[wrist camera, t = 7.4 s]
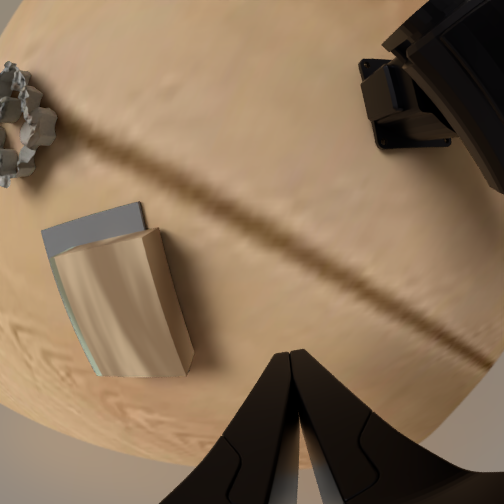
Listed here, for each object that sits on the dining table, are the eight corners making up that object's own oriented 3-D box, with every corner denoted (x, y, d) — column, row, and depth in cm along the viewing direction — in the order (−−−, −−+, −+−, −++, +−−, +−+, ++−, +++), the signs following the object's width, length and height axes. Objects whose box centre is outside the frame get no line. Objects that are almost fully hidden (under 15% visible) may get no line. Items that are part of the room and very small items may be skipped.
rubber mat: (139, 201, 18) (137, 201, 18) (189, 370, 22) (188, 372, 22) (43, 230, 19) (40, 230, 19) (96, 370, 23) (94, 372, 22)
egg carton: (69, 129, 17) (36, 125, 13) (23, 192, 18) (-9, 199, 15) (30, 59, 15) (3, 50, 11) (-10, 118, 16) (-38, 117, 12)
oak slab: (141, 237, 16) (48, 258, 16) (186, 376, 18) (97, 375, 19) (158, 227, 18) (71, 247, 19) (194, 352, 21) (111, 355, 22)
